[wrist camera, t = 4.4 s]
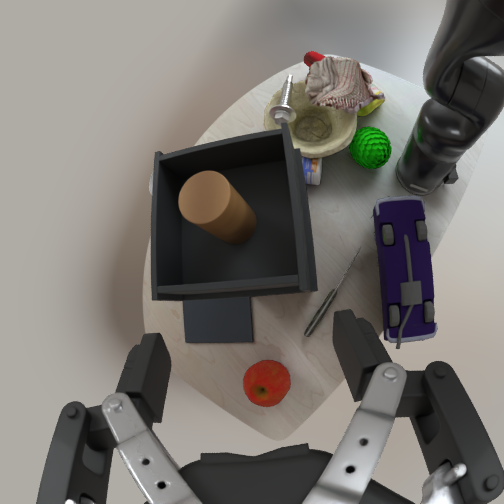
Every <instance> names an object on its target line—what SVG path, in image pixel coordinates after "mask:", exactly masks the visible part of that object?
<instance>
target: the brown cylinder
mask: <svg viewBox="0 0 504 504" xmlns="http://www.w3.org/2000/svg"><path fill="white" fill-rule="evenodd" d="M179 208H180V211H181V213H182V215H183V217H184V218H185V219H186V220H188V221H189V222H191V223H193V224H195V225H196V226H198V227H200V228H202V229H203V230H205V231H207V232H209V233H210V234H212V235H214V236H216V237H217V238H219V239H221V240H223V241H224V242H226V243H229V244H240V243H243V242H245V241H246V240H248V239H249V238H250V237H251V236H252V235H253V233H254V231H255V229H256V224H257V220H256V215H255V213H254V211H253V210H252V209H251V207H250V206H249V205H248V204H247V203H246V201H245V200H244V199H243V198H242V197H241V196H240V194H239V193H238V192H237V191H236V190H235V189H234V187H233V186H232V185H231V184H230V183H229V182H228V180H227V179H226V178H225V177H224V176H223V175H222V174H220V173H218V172H215V171H203V172H199V173H197V174H195V175H193V176H192V177H191V178H189V179H188V180H187V181H186V183H185V184H184V185H183V187H182V189H181V191H180V194H179Z"/></svg>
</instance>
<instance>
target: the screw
mask: <svg viewBox="0 0 504 504" xmlns="http://www.w3.org/2000/svg"><path fill="white" fill-rule="evenodd" d="M292 78H293V76H291V75H289V76H288V77H287V79H286V82H285V83H284V85H283V89H282V95H281V99H280V104H279V105H275V106H273V107H271V109H270V111H269V114H270V116H271V118H272V119H274V120H275V121H274V123H275V124H277V125H279V126H281V123H285V122H287V123H290V122H292V121H294V120H295V119H296V112H295V110H294V109H292V108H291V107H289V106H290V101H291V100H290V99H291V95H292V94H291V93H292V89H293V83H292Z"/></svg>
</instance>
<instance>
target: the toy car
mask: <svg viewBox="0 0 504 504" xmlns="http://www.w3.org/2000/svg"><path fill="white" fill-rule="evenodd" d="M424 212H425V202H424V201H423V200H422V198H421V197H420V196H410V195H408V196H398V197H390V196H389V197H387V198H383V199H378V200H377V202H376V205H375V207H374V209H373V216H374V226H375V232H374V233H375V235H374V237H376V240H375V241H376V245H377V253H378V257H377V258H378V261H377V265H378V262H379V273H380V285H381V298H382V311H383V329H384V340H386V341H389V342H390V343H397V346H396V349H400V344H401V343H403V342H411V341H420V340H422V341H423V340H425V339H429V338H432V337H434V336H435V334H436V332H437V329H438V328H437V323H434V313H435V312H434V286H433V273H432V264H431V254H430V245H429V242H428V240H427V228H426V224H425V214H424Z"/></svg>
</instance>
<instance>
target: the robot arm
mask: <svg viewBox="0 0 504 504" xmlns="http://www.w3.org/2000/svg"><path fill="white" fill-rule="evenodd" d="M484 56H504V0H447V2H446V7H445V12H444V15H443V18H442V21H441V24H440V27H439V29H438V31H437V34H436V36H435V39H434V41H433V44H432V46H431V48H430V51H429V53H428V56H427V59H426V62H425V66H424V71H423V85H424V88H425V91H426V93H427V94H428V95H429V96H430V97H431V99H429V100H427V101H426V102H425V103H424V104H423V106H422V108H421V110H420V113H419V115H418V118H417V120H416V123H415V125H414V128H413V130H412V132H411V135H410V137H409V139H408V142H407V144H406V146H405V148H404V151H403V153H402V155H401V157H400V159H399V160H398V163H397V166H396V173H397V177H398V179H399V181H400V183H401V184H402V186H403V187H404V188H405V189H406V190H408V191H409V192H411V193H413V194H416V195H427V194H429V193H431V192H432V191H433V190H434V189H435V188H436V187H439V186H440V185H441V184H442V183H443V182H444V184H454V183H455V182H456V180H457V179H458V175H457V172H456V163H457V161H458V160H459V159H460V158H461V156H462V155H463V154H464V153H465V151H466V150H467V149H469V148H471V147H472V146H473V144H474V143H475V142H476V141H477V140H478V139H479V138H480V136H481V135H482V134H483V133H484V132H485V131H486V130H487V129H488V128H489V127H490V126H491V125H492V123H493V122H494V121H495V120H496V119H497V117H498V115H499V114H500V112H501V111H502V109H503V107H504V70H503V69H502V68H501V67H500V66H498V65H497V64H495V63H494V62H492V61H490V60H489V59H487V58H486V57H484ZM332 338H333V346H334V349H335V352H336V354H337V357H338V359H339V362H340V365H341V367H342V370H343V372H344V375H345V378H346V380H347V383H348V386H349V388H350V391H351V394H352V396H353V399H354V402H357V401H361V400H362V402H361V404H360V406H359V408H357V410H356V412H355V414H354V416H353V418H352V420H351V423H350V424H349V426H348V428H347V430H346V432H345V434H344V436H343V438H342V440H341V442H340V443H339V445H338V447H337V449H336V451H335V453H334V455H333V454H331V453H328V452H325V451H321V450H315V449H309V446H308V443H306V444H300V445H294V446H288V447H281V448H278V449H276V450H273V451H270V452H267V453H264V454H261V455H258V456H246V455H239V454H232V453H201V460H198V461H194V462H192V463H189V464H187V465H185V466H184V467H182V468H180V467H179V466H178V464H177V463H176V462H175V461H174V459H173V458H172V457H171V456H170V454H169V453H168V452H167V450H166V449H165V447H164V446H163V444H162V443H161V442H160V440H159V439H158V437H157V436H156V435H155V433H154V431H153V430H152V425H153V423H161V422H162V416H163V409H164V404H165V398H166V393H167V387H168V382H169V377H170V372H171V357H170V354H169V352H168V350H167V347H166V345H165V342H164V340H163V337H162V335H161V334H160V333H149V334H144V335H143V338H142V340H141V344H140V345H135V346H134V347H133V348H132V350H131V351H130V352H129V354H128V357H127V360H126V363H125V365H124V369H123V371H122V374H121V377H120V380H119V383H118V386H117V389H116V392H115V393H114V394H111V395H109V396H108V397H107V398H106V399H105V400H104V401H103V403H102V405H99V406H94V407H90V408H86V407H85V406H84V405H83V404H82V403H81V402H77V401H74V402H71V403H68V404H67V405H66V406H64V408H63V409H62V411H61V414H60V416H59V419H58V422H57V426H56V429H55V432H54V435H53V438H52V442H51V445H50V448H49V452H48V456H47V459H46V463H45V467H44V471H43V475H42V479H41V483H40V488H39V492H38V498H37V502H36V504H106V498H107V490H108V482H109V475H110V468H111V462H112V456H113V449H114V448H117V450H118V452H119V454H120V456H121V458H122V459H123V461H124V463H125V465H126V467H127V468H128V470H129V472H130V474H131V475H132V477H133V479H134V480H135V482H136V484H137V485H138V487H139V489H140V490H141V492H142V493H143V495H144V496H145V498H146V499H147V501H146V502H145V503H144V504H415V503H413V502H412V501H410V500H408V499H406V498H404V497H402V496H400V495H399V494H397V493H395V492H393V491H392V490H390V489H388V488H387V487H385V486H383V485H381V484H380V483H378V482H376V481H375V480H373V479H371V477H372V474H373V472H374V470H375V468H376V466H377V464H378V461H379V459H380V457H381V454H382V452H383V449H384V447H385V444H386V442H387V439H388V437H389V434H390V431H391V429H392V426H393V423H394V420H395V417H410V420H411V423H412V425H413V428H414V430H415V434H416V436H417V439H418V442H419V445H420V447H421V450H422V453H423V456H424V459H425V462H426V465H427V468H428V471H429V474H430V476H429V477H428V478H427V479H426V480H425V482H424V484H423V487H422V494H423V497H422V501H421V503H420V504H487V503H489V502H491V501H492V500H494V499H496V498H497V497H498V496H499V495H500V494H501V493H502V491H503V489H504V470H503V468H502V465H501V463H500V461H499V458H498V456H497V453H496V451H495V449H494V447H493V444H492V442H491V440H490V438H489V436H488V433H487V431H486V429H485V427H484V425H483V423H482V421H481V419H480V417H479V415H478V413H477V411H476V409H475V407H474V406H473V404H472V402H471V400H470V398H469V396H468V394H467V393H466V391H465V389H464V387H463V385H462V384H461V382H460V380H459V378H458V377H457V375H456V373H455V371H454V370H453V368H452V367H451V366H450V365H449V364H447V363H445V362H442V361H435V362H432V363H430V364H429V365H428V366H427V367H426V369H425V370H423V371H407V370H405V369H404V368H403V367H402V366H400V365H399V364H397V363H393V362H392V360H391V358H390V356H389V355H388V353H387V351H386V349H385V347H384V346H383V344H382V342H381V341H380V339H379V337H378V335H377V333H375V330H374V328H373V327H372V325H371V323H369V322H368V321H367V320H365V319H364V318H358V319H356V317H355V315H354V313H353V312H352V310H351V309H347V310H341V311H336V312H334V321H333V336H332Z"/></svg>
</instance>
